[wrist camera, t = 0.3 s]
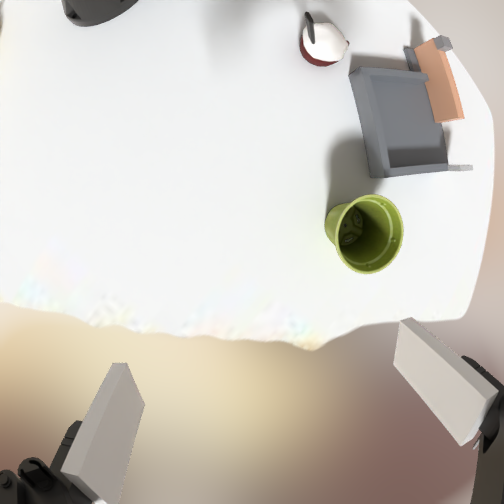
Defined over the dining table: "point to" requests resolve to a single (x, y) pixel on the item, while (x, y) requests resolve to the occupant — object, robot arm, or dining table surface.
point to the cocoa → (322, 43)
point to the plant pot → (366, 233)
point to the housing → (399, 121)
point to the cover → (439, 79)
